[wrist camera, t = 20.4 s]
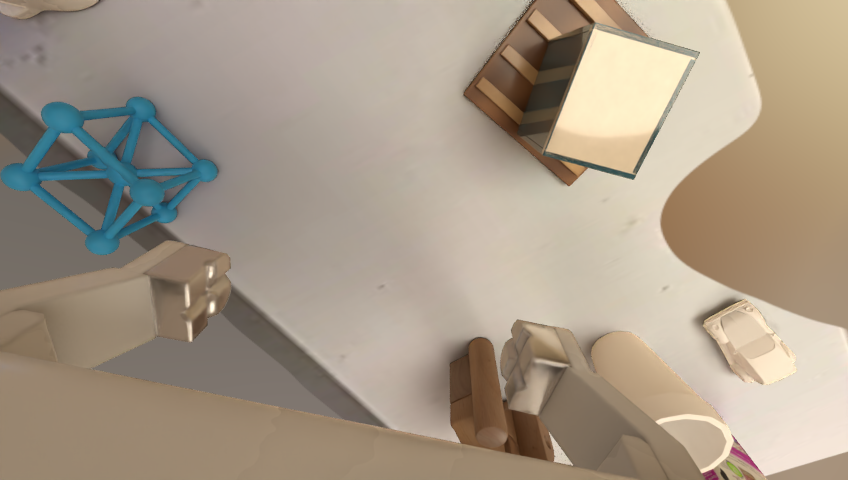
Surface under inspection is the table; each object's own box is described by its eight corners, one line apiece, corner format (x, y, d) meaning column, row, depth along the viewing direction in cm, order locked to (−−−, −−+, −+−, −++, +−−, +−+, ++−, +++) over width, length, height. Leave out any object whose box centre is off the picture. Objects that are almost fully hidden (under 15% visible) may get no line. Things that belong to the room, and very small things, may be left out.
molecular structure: (97, 154, 38) (-14, 178, 29) (146, 90, 35) (39, 95, 25) (174, 222, 41) (96, 264, 32) (226, 169, 37) (156, 199, 28)
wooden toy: (544, 405, 49) (625, 684, 27) (502, 422, 51) (546, 696, 29) (484, 332, 45) (522, 596, 22) (441, 355, 46) (435, 617, 24)
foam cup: (653, 313, 42) (734, 405, 30) (659, 369, 45) (734, 471, 34) (572, 331, 44) (618, 425, 32) (584, 384, 47) (629, 486, 35)
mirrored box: (633, 179, 24) (700, 52, 21) (542, 155, 24) (595, 21, 20) (582, 152, 33) (623, 60, 30) (516, 134, 33) (549, 39, 29)
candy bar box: (638, 411, 49) (721, 558, 34) (666, 390, 47) (768, 536, 32) (695, 443, 51) (799, 595, 36) (725, 424, 49) (847, 576, 34)
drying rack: (463, 93, 33) (463, 94, 32) (568, -44, 28) (574, -50, 27) (567, 184, 36) (571, 188, 35) (678, 74, 31) (687, 73, 30)
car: (787, 352, 43) (824, 382, 39) (735, 376, 45) (765, 407, 41) (744, 289, 40) (780, 315, 35) (691, 318, 42) (718, 346, 38)
